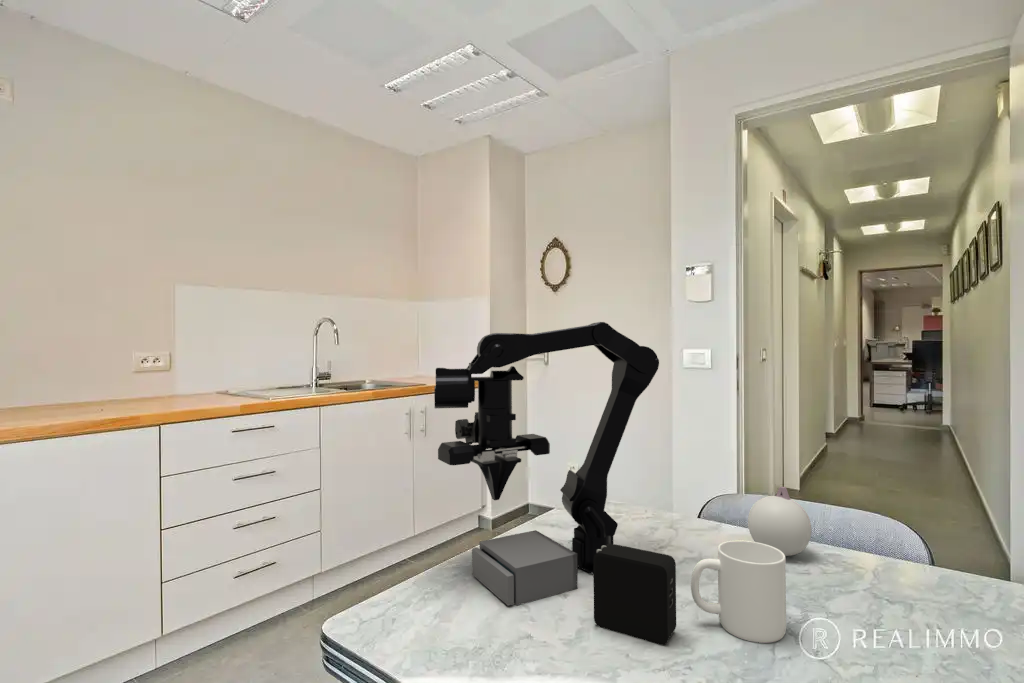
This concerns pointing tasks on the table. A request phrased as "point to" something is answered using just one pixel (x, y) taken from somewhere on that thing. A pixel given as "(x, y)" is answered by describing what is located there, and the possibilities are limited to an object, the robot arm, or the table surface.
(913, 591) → the table surface
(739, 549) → the cup
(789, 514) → the ornament
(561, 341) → the robot arm
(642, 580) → the electronic device
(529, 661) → the table surface
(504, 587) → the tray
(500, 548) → the grey drawer box
